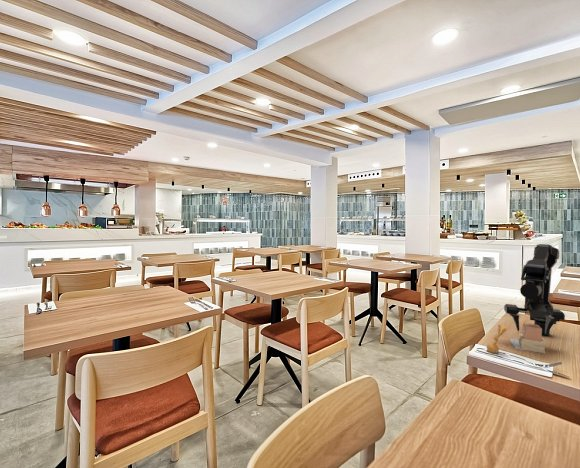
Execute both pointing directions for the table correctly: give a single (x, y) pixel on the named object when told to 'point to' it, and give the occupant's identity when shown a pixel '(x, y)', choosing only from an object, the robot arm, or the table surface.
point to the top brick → (532, 332)
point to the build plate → (517, 346)
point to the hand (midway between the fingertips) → (531, 332)
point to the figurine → (492, 346)
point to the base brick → (531, 344)
